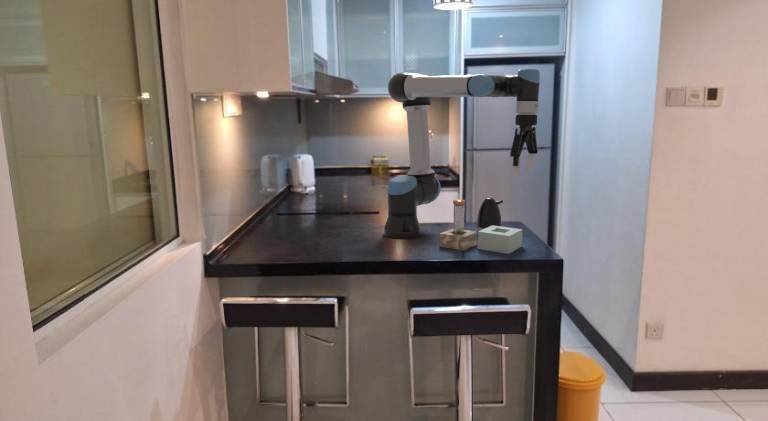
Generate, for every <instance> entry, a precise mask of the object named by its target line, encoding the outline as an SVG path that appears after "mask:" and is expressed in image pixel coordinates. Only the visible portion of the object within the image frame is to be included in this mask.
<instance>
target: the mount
mask: <svg viewBox="0 0 768 421" xmlns="http://www.w3.org/2000/svg"><path fill="white" fill-rule="evenodd" d="M439 235H440V236H439V238H440V240H439V241H440V242H439V246H440V247H442V248H447V249H453V250H457V251H466V250H468V249H470V248H472V247H475V246H478V231H477V230H476V231H475V230H467V229H464V234H463V235H459V234H453V228H451V229H447V230H446V231H443V232H440V234H439Z"/></svg>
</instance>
